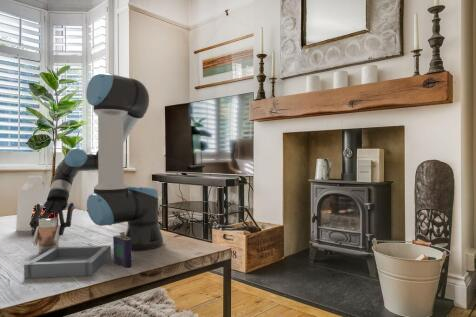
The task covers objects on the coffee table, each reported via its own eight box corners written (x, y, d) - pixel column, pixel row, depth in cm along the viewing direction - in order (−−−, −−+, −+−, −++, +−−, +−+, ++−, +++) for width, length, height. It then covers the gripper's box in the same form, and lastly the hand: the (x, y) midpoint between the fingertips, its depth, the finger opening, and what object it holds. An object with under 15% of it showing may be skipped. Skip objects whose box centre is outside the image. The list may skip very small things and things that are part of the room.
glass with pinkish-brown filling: (61, 248, 130) (61, 217, 129) (54, 253, 123) (53, 220, 123) (44, 248, 129) (43, 217, 129) (35, 253, 122) (34, 220, 122)
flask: (111, 262, 111) (111, 230, 111) (120, 260, 113) (119, 229, 113) (126, 269, 105) (126, 234, 105) (134, 266, 107) (134, 233, 107)
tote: (110, 256, 118) (110, 245, 118) (92, 275, 99) (92, 262, 99) (54, 258, 116) (54, 247, 116) (24, 278, 97) (24, 264, 97)
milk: (54, 226, 173) (54, 175, 173) (39, 231, 161) (38, 176, 161) (32, 225, 174) (32, 175, 174) (16, 230, 162) (15, 177, 162)
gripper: (86, 198, 143) (76, 246, 127) (36, 200, 139) (19, 249, 123) (82, 187, 138) (71, 235, 122) (30, 188, 134) (12, 238, 118)
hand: (45, 242), depth 122 cm, fingers closed on glass with pinkish-brown filling, 6 cm apart
